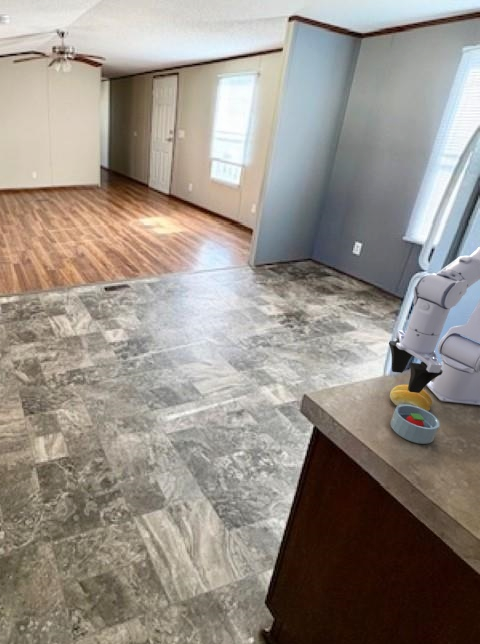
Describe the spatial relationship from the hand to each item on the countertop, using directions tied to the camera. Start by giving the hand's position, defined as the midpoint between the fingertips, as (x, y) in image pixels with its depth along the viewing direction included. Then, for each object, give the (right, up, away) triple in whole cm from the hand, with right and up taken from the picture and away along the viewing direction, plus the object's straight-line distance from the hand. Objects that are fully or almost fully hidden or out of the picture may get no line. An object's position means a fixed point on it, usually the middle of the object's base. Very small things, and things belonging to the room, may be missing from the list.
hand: (405, 381), depth 96 cm
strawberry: (0, -11, -2) cm, 11 cm away
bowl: (0, -11, -2) cm, 11 cm away
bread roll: (+7, -7, +8) cm, 12 cm away
